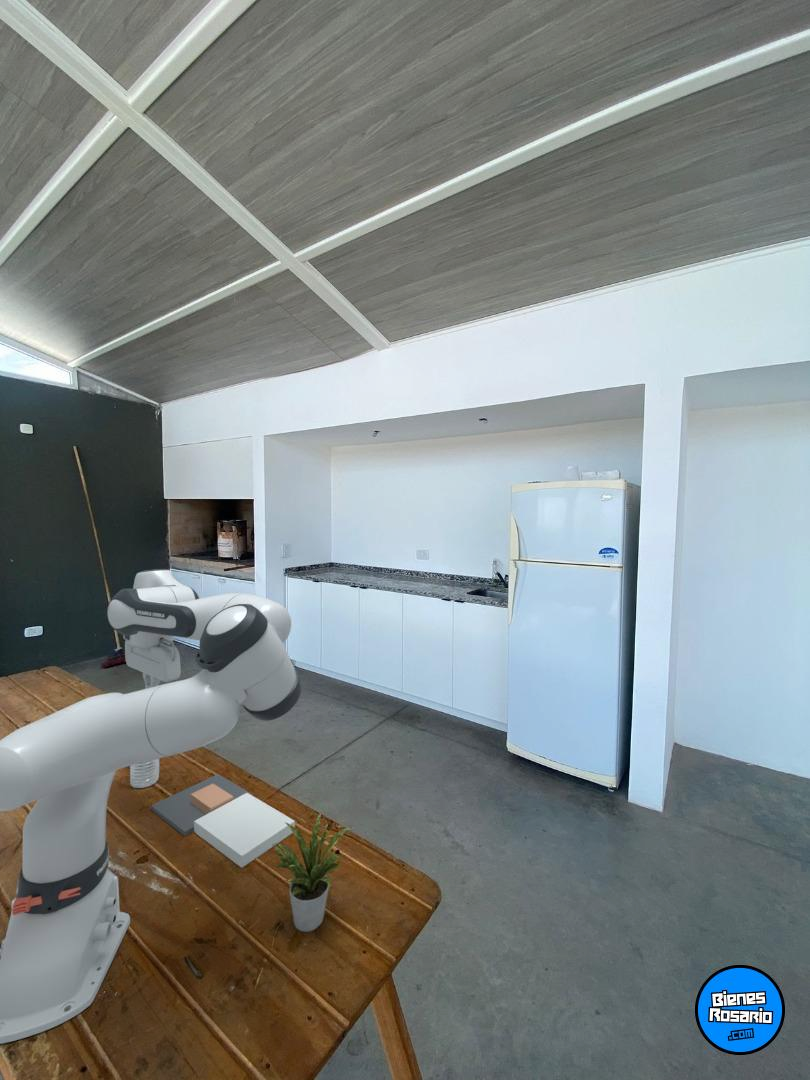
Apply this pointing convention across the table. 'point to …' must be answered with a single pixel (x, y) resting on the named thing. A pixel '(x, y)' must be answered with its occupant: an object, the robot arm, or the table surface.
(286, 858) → the house plant
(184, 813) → the rubber mat
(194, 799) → the terracotta tile
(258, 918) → the table surface
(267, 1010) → the table surface
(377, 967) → the table surface
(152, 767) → the water bottle
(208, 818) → the white slab
